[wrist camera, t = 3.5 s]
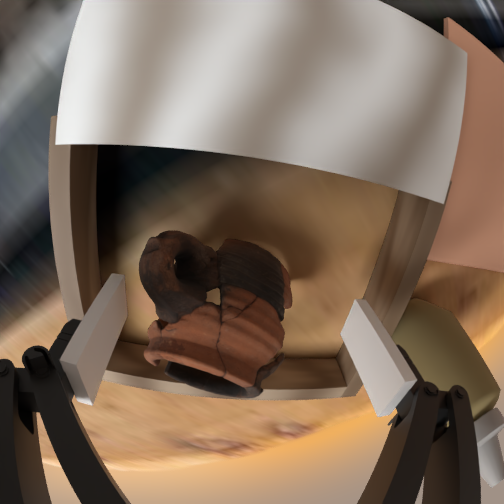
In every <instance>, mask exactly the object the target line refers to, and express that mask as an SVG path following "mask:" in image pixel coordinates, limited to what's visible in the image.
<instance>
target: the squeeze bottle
mask: <svg viewBox="0 0 504 504" xmlns="http://www.w3.org/2000/svg"><path fill="white" fill-rule="evenodd" d="M391 338H392V340H393V341H394V343H395V344H396V345H397V344H399V345H400V346H401V347H402V348H403V349H404V350H405V351H406V352H407V354H408V355H409V358H411V360H412V362H413V364H414V365H415V366H416V368H417V369H418V371H419V373H420V374H421V376H422V378H423V379H424V381H425V382H426V381H428V382H432V383H433V384H435V385H436V386H437V387H438V388H439V390H441V391H449V390H450V388H451V387H452V386H454V385H460V386H462V387H463V388H465V390H466V391H467V393H468V395H469V400H470V405H471V410H472V415H473V420H474V426H475V432H476V439H477V447H478V456H479V467H480V475H481V476H482V477H483V479H485V481H486V482H487V483H488V484H489V485H490V486H491V487H493V486H495V485H496V484H497V483H499V482H500V481H501V480H503V479H504V462H503V457H502V453H501V448H500V444H499V440H498V436H497V434H498V433H499V432H500V431H501V430H502V428H504V417H503V416H502V414H501V412H500V411H499V410H498V408H494V406H495V404H496V402H497V400H498V398H499V393H500V388H499V386H498V384H497V382H496V381H495V379H494V377H493V375H492V374H491V372H490V370H489V368H488V367H487V365H486V363H485V362H484V360H483V358H482V357H481V355H480V353H479V352H478V350H477V349H476V347H475V346H474V344H473V342H472V341H471V339H470V338H469V336H468V335H467V333H466V332H465V330H464V329H463V328H462V326H461V325H460V323H459V322H458V320H457V319H456V318H455V316H454V315H453V314H452V312H451V311H448V310H446V309H444V308H441V307H439V306H437V305H434V304H432V303H430V302H427V301H425V300H422V299H417V298H414V299H410V300H409V302H408V304H407V307H406V309H405V311H404V313H403V315H402V317H401V319H400V321H399V323H398V325H397V327H396V328H395V330H394V332H393V334H392V336H391ZM493 408H494V409H493ZM448 426H449V421H448V422H447V427H448Z"/></svg>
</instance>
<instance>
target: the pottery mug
mask: <svg viewBox="0 0 504 504" xmlns="http://www.w3.org/2000/svg"><path fill="white" fill-rule="evenodd" d="M174 259H175V261H176V262H175V264H174ZM139 274H140V279H141V282H142V285H143V287H144V289H145V290H146V292H147V293H148V295H149V297H150V298H151V299H152V301H153V302H154V303H155V307H156V314H157V315H158V317H159V319H158V320H155V321H154V322H153V323H152V324H151V325H150V327H149V328H148V338H149V340H150V342H149V345H148V347H147V349H145V351H144V357H145V358H146V360H147V361H148V362H149V363H151V364H153V365H154V366H158V365H159V363H160V360H161V359H166V360H168V364H167V366H166V368H165V371H164V372H165V374H166V375H168V376H170V377H171V378H173V379H175V380H177V381H179V382H183V383H185V384H187V385H189V386H191V387H194V388H197V389H200V390H204V391H207V392H210V393H214V394H218V395H223V396H228V397H236V398H255V397H257V396H259V395H260V394H261V393H262V392H263V391H264V390H263V389H262V388H261V382H262V380H264V379H266V378H267V377H269V376H270V375H271V374H272V373H274V372H275V371H276V370H277V368H278V367H279V366H280V365H281V364H282V362H283V361H284V356H285V355H284V353H282V354H280V355H278V357H277V358H276V359H275V360H274V361H272V362H271V363H269V364H267V365H265V364H266V363H268V361H269V360H270V359H271V358H273V357H274V356H275V355H276V354H277V352H278V351H279V350H280V349H281V348H282V346H283V340H284V335H285V332H284V329H283V327H282V325H281V321H282V320H283V319H284V312H285V309H288V308H291V306H292V293H291V288H290V278H289V275H288V272H287V270H286V269H285V268H284V266H283V265H282V264H281V263H280V261H279V260H278V259H277V258H275V257H274V256H273V255H272V254H271V253H270V252H268V251H266V250H264V249H262V248H260V247H259V246H257V245H254V244H252V243H250V242H245V241H240V240H234V239H226V240H225V241H224V242H223V245H222V246H221V247H220V248H219V250H218V251H217V252H215V251H214V250H213V249H212V248H211V247H209V246H204V245H203V244H202V243H201V242H200V241H198V240H197V239H196V238H195V237H193V236H191V235H189V234H186V233H183V232H180V231H165V232H162V233H160V234H159V235H158V236H156V237H151V238H150V239H149V240H148V242H147V244H146V247H145V249H144V251H143V253H142V255H141V258H140V262H139ZM216 288H219V289H220V301H221V303H220V305H216V304H214V303H212V302H206V298H207V293H206V292H208V291H210V290H212V289H216ZM284 307H285V308H284Z"/></svg>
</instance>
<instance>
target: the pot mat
mask: <svg viewBox="0 0 504 504" xmlns="http://www.w3.org/2000/svg"><path fill="white" fill-rule="evenodd" d="M444 37H445V38H447V39H448V40H450V41H451V42H453V43H454V44H456V45H457V46H458V47H460V48H461V49H462V50H464V51H465V52H466V53H467V78H466V91H465V101H464V110H463V117H462V124H461V131H460V137H459V142H458V147H457V153H456V157H455V162H454V166H453V171H452V175H451V179H450V181H452V184H451V187H450V191H449V195H448V198H447V202H446V205H445V209H444V212H443V215H442V218H441V221H440V225H439V228H438V231H437V233H436V236H435V239H434V242H433V245H432V247H431V250H430V253H429V255H428V258H427V260H431V261H438V262H444V263H450V264H456V265H462V266H468V267H474V268H480V269H486V270H492V271H498V272H503V273H504V63H503V62H502V61H501V60H500V59H499V58H498V57H497V56H496V55H495V54H494V53H492V52H491V51H490V50H489V49H488V48H487V47H486V46H485V45H483V44H482V43H481V42H480V41H479V40H477V39H476V38H475V37H474V36H473V35H471V34H470V33H469V32H468V31H466V30H465V29H464V28H462V27H461V26H460V25H458V24H457V23H456V22H454V21H453V20H451V19H450V18H449V17H448V18H444Z"/></svg>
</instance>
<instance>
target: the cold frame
mask: <svg viewBox="0 0 504 504" xmlns="http://www.w3.org/2000/svg"><path fill="white" fill-rule="evenodd" d="M466 78H467V53H466V52H465V51H464V50H462V49H461V48H460V47H458V46H457V45H456V44H454V43H453V42H451V41H450V40H448V39H447V38H445V37H444V36H442V35H441V34H439V33H438V32H436V31H435V30H433V29H431V28H430V27H428V26H427V25H425V24H423V23H421V22H420V21H418V20H416V19H414V18H413V17H411V16H409V15H407V14H405V13H403V12H402V11H400V10H398V9H396V8H394V7H392V6H390V5H387V4H385V3H383V2H381V1H379V0H83V3H82V6H81V9H80V12H79V15H78V18H77V21H76V24H75V28H74V31H73V35H72V39H71V43H70V47H69V51H68V55H67V60H66V64H65V69H64V74H63V80H62V86H61V92H60V99H59V107H58V116H51V126H50V140H49V203H50V218H51V229H52V238H53V246H54V254H55V261H56V267H57V273H58V278H59V284H60V289H61V293H62V298H63V303H64V307H65V311H66V315H67V319H68V322H69V321H70V320H71V319H78V320H82V319H83V318H84V316H85V314H86V313H87V311H88V309H89V308H90V306H91V305H92V303H93V301H94V300H95V298H96V297H97V295H98V294H99V292H100V290H101V289H102V286H101V278H100V268H99V257H98V243H97V223H96V172H97V152H98V144H114V145H139V146H155V147H169V148H181V149H191V150H201V151H209V152H218V153H226V154H233V155H240V156H247V157H254V158H260V159H266V160H272V161H278V162H283V163H289V164H294V165H299V166H304V167H309V168H314V169H318V170H323V171H328V172H332V173H336V174H341V175H345V176H349V177H353V178H357V179H361V180H365V181H369V182H373V183H376V184H380V185H384V186H387V187H391V188H394V189H398V190H399V193H398V197H397V200H396V204H395V207H394V211H393V214H392V217H391V221H390V224H389V227H388V230H387V233H386V237H385V240H384V243H383V246H382V248H381V251H380V254H379V257H378V260H377V263H376V265H375V268H374V271H373V274H372V276H371V279H370V282H369V284H368V287H367V289H366V292H365V294H364V297H363V299H366V301H367V302H368V304H369V305H370V307H371V308H372V310H373V311H374V312H375V314H376V315H377V317H378V318H379V320H380V321H381V323H382V324H383V326H384V328H385V329H386V331H387V332H388V334H389V335H390V337H391V336H392V334H393V332H394V330H395V328H396V327H397V325H398V323H399V321H400V319H401V317H402V315H403V313H404V311H405V309H406V307H407V304H408V302H409V300H410V298H411V296H412V294H413V291H414V289H415V287H416V285H417V282H418V280H419V278H420V275H421V273H422V271H423V268H424V266H425V263H426V261H427V258H428V255H429V253H430V250H431V247H432V245H433V242H434V239H435V236H436V233H437V231H438V228H439V225H440V221H441V218H442V215H443V212H444V209H445V205H446V202H447V198H448V195H449V191H450V187H451V184H452V181H450V179H451V175H452V171H453V166H454V162H455V157H456V153H457V147H458V142H459V137H460V131H461V124H462V117H463V110H464V101H465V91H466ZM147 347H148V346H146V345H140V344H134V343H129V342H123V341H118V340H117V342H116V345H115V347H114V350H113V352H112V355H111V357H110V360H109V362H108V365H107V368H106V370H105V373H104V375H103V378H102V380H104V381H108V382H112V383H117V384H122V385H127V386H132V387H137V388H142V389H148V390H154V391H160V392H167V393H174V394H182V395H190V396H200V397H211V398H224V399H241V400H309V399H327V398H340V397H351V396H356V394H357V393H358V391H359V390H360V388H361V387H362V385H363V382H362V380H361V378H360V376H359V373H358V371H357V369H356V367H355V365H354V362H353V360H352V358H351V356H350V354H349V352H348V349H347V347H346V345H345V343H344V342H343V345H342V347H341V349H340V351H339V353H338V355H337V357H336V359H285V358H284V361H283V362H282V364H281V365H280V366H279V367H278V368H277V370H276V371H275V372H274V373H272V374H271V375H270V376H269V377H267V378H266V379H264V380H262V382H261V388H262V389H263V390H264V391H263V392H262V393H261V394H260V395H259V396H257V397H255V398H236V397H228V396H223V395H218V394H214V393H210V392H207V391H204V390H200V389H197V388H194V387H191V386H189V385H187V384H185V383H183V382H179V381H177V380H175V379H173V378H171V377H170V376H168V375H166V374H165V372H164V371H165V368H166V366H167V364H168V360H166V359H161V360H160V363H159V365H158V366H154V365H153V364H151V363H149V362H148V361H147V360H146V358H145V357H144V351H145V349H147ZM275 359H276V358H271V359H270V360H269V361H268V363H266V364H265V365H267V364H269V363H271V362H272V361H274V360H275Z"/></svg>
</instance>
